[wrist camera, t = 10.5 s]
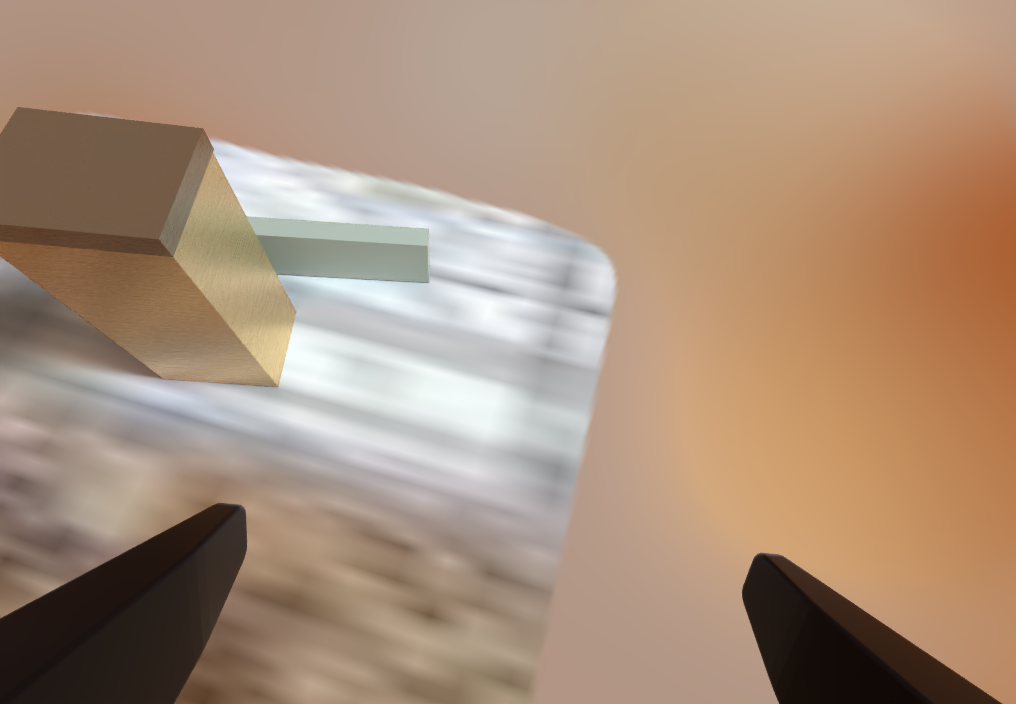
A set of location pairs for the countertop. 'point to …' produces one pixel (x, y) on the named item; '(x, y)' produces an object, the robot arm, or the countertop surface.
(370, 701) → the countertop surface
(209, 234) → the brown block
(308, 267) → the rail
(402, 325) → the countertop surface
